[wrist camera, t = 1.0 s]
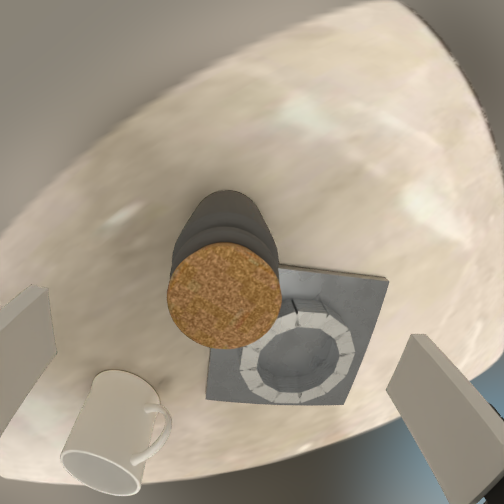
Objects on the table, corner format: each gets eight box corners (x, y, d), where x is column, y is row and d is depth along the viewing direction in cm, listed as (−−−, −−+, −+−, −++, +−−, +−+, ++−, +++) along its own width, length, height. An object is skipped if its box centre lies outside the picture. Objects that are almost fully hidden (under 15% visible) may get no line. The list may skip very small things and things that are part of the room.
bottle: (234, 175, 26) (237, 200, 11) (274, 230, 27) (321, 312, 13) (179, 217, 27) (124, 289, 12) (221, 269, 28) (213, 380, 14)
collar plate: (206, 393, 32) (204, 415, 29) (222, 257, 28) (221, 271, 24) (341, 399, 34) (349, 418, 31) (385, 277, 30) (401, 291, 26)
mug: (163, 356, 31) (140, 444, 19) (197, 410, 33) (190, 495, 22) (79, 375, 31) (40, 448, 20) (116, 423, 34) (93, 496, 22)
